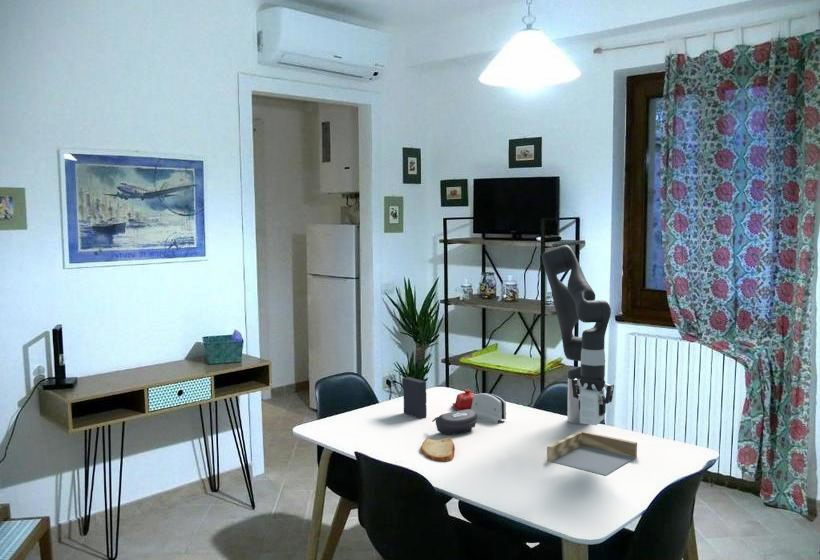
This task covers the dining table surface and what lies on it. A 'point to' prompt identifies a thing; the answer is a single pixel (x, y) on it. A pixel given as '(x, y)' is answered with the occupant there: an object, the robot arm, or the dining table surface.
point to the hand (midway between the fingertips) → (592, 413)
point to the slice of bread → (438, 449)
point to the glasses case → (456, 421)
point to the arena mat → (593, 460)
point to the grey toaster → (489, 407)
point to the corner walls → (591, 445)
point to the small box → (590, 407)
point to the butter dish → (464, 400)
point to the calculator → (414, 397)
